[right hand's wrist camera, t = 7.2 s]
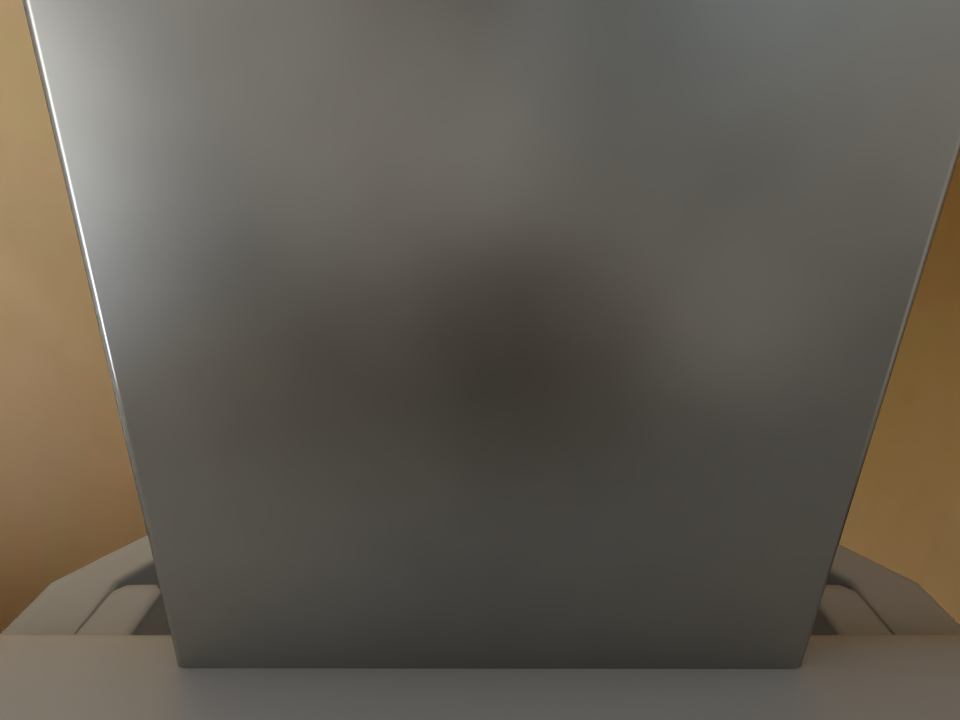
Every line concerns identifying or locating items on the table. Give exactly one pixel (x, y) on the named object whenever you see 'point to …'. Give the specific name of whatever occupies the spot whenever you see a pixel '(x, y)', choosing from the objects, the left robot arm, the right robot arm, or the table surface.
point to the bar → (499, 310)
